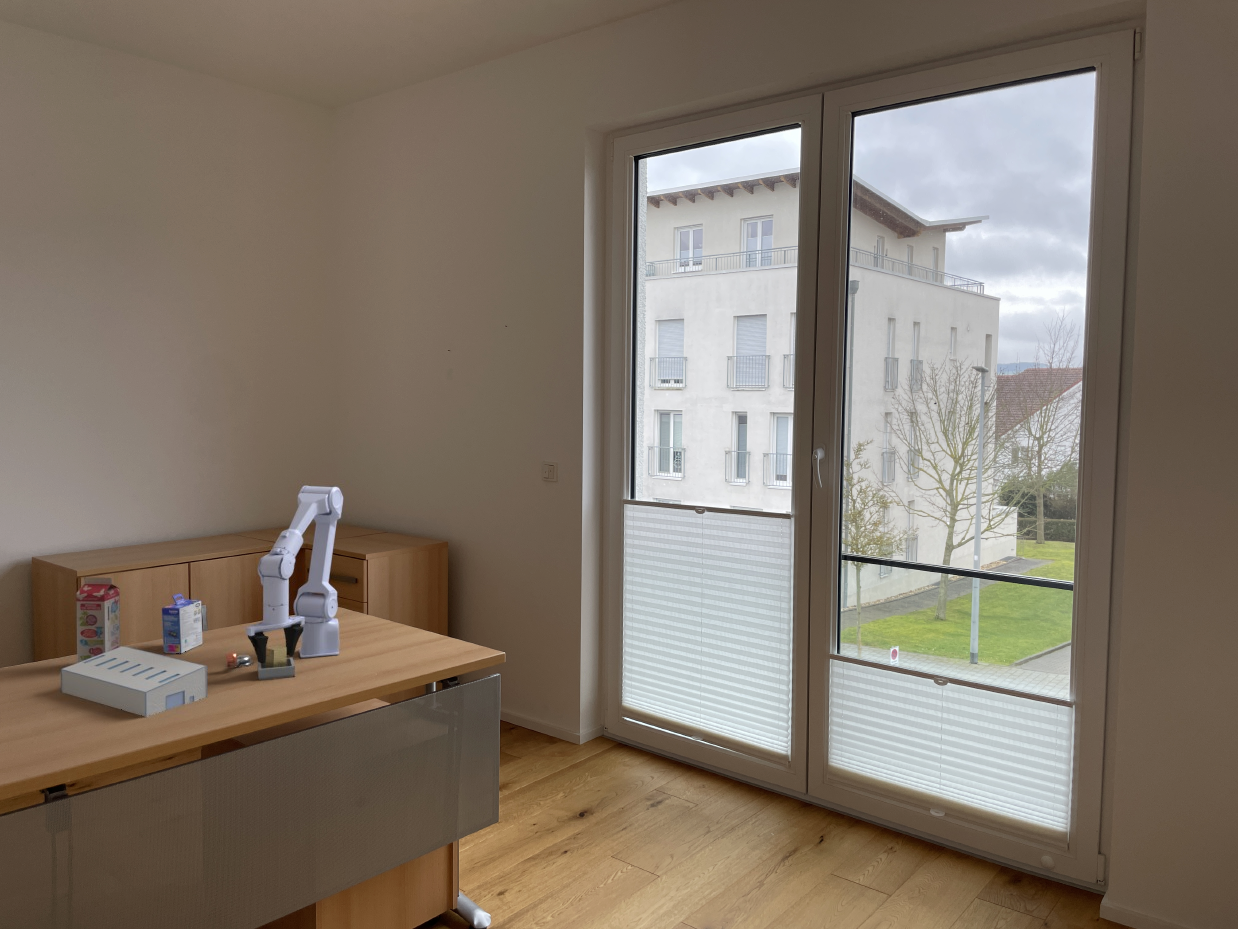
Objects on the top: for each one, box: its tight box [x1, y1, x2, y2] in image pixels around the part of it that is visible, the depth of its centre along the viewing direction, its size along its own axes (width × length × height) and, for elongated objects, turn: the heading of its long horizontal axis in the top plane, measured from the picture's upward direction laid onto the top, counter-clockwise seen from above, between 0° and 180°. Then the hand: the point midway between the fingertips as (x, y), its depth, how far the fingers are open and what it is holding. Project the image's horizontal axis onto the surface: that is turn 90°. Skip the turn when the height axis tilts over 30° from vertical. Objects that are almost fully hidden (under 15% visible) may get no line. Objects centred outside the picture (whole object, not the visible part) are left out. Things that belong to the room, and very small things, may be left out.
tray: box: [257, 657, 296, 681], centre depth 210 cm, size 8×8×2 cm
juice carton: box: [76, 576, 121, 663], centre depth 212 cm, size 7×7×22 cm
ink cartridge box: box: [161, 593, 203, 655], centre depth 229 cm, size 10×6×14 cm, turn 174°
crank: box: [225, 651, 251, 669], centre depth 214 cm, size 9×4×4 cm, turn 1°
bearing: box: [236, 659, 254, 668], centre depth 217 cm, size 5×5×1 cm
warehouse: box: [60, 645, 208, 718], centre depth 193 cm, size 30×14×8 cm, turn 62°
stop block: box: [266, 644, 287, 668], centre depth 210 cm, size 3×3×6 cm
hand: (276, 659), depth 210 cm, fingers open, 7 cm apart
